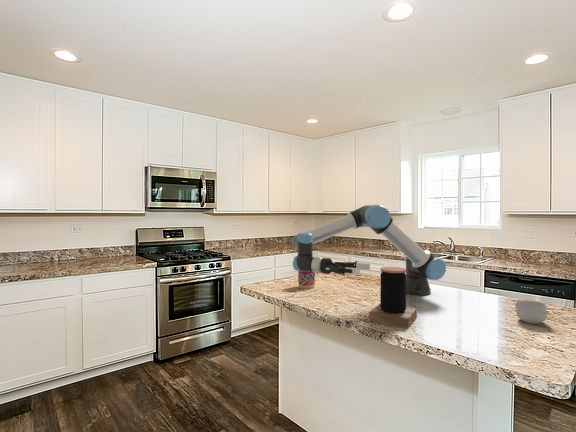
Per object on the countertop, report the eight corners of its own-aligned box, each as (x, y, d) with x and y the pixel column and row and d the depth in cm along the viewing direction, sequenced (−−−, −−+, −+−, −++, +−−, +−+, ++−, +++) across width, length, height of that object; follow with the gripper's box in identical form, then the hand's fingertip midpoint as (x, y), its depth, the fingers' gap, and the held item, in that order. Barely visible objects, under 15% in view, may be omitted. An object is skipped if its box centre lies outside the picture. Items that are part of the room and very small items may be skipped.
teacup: (548, 327, 134) (548, 307, 134) (515, 323, 140) (515, 304, 140) (544, 318, 146) (544, 300, 146) (514, 314, 152) (514, 296, 152)
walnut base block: (380, 311, 155) (380, 303, 155) (416, 317, 147) (416, 308, 147) (369, 321, 142) (369, 312, 142) (408, 328, 133) (408, 318, 133)
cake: (315, 289, 200) (315, 264, 200) (298, 289, 200) (298, 264, 200) (314, 285, 211) (314, 261, 210) (297, 285, 211) (297, 261, 211)
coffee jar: (410, 310, 145) (410, 268, 144) (399, 315, 137) (399, 271, 136) (387, 305, 152) (387, 265, 152) (375, 310, 144) (375, 268, 144)
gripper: (333, 269, 174) (373, 272, 162) (310, 277, 152) (355, 282, 141) (333, 254, 173) (373, 257, 162) (310, 261, 152) (354, 264, 141)
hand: (364, 269), depth 152 cm, fingers open, 13 cm apart
